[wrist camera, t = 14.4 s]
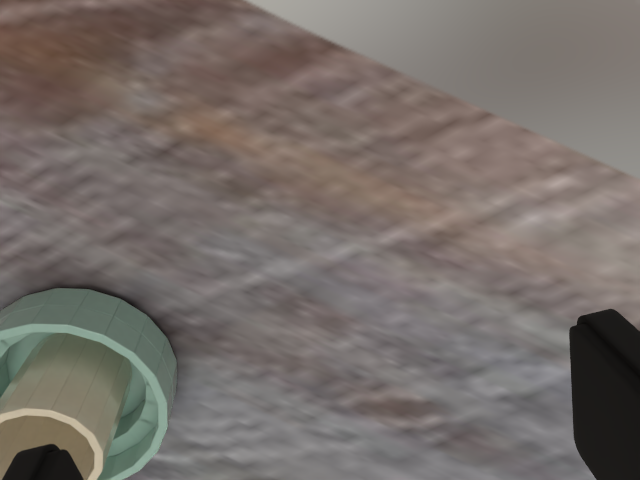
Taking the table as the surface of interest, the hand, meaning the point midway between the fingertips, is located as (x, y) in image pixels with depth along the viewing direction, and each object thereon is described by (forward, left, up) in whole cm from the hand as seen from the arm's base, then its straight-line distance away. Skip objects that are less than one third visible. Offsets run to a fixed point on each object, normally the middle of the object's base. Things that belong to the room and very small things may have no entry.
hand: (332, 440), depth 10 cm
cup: (+13, -18, -26) cm, 34 cm away
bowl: (+13, -18, -26) cm, 34 cm away
